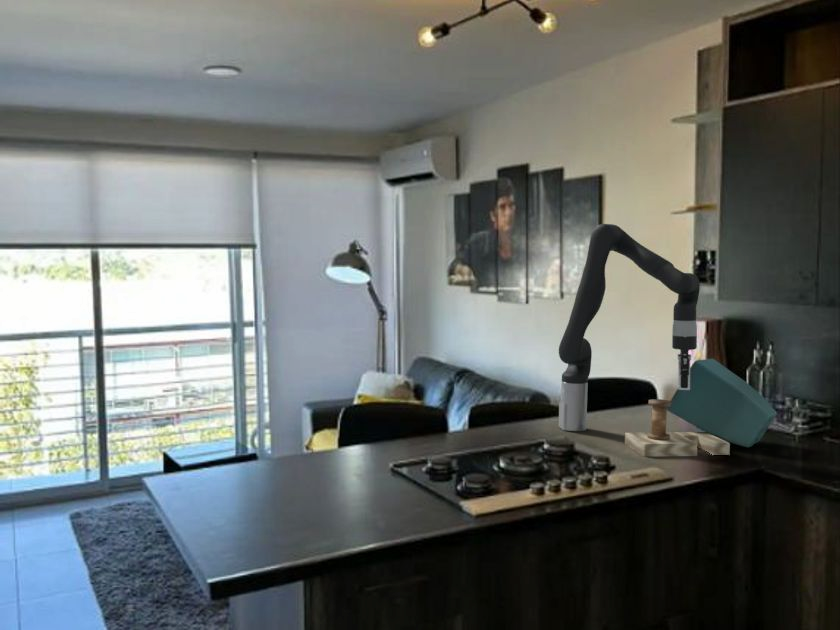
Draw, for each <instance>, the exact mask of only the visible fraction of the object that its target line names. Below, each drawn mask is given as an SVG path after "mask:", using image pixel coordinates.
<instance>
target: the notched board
mask: <svg viewBox="0 0 840 630" xmlns="http://www.w3.org/2000/svg"><path fill="white" fill-rule="evenodd" d="M647 433H648V431H647V432H645V431H644V432H643V431H642V432H638V431H637V432H636V431H635V432H624V446H627V447H628V448H630V449H631V450H633V451H635V452H636V453H638V454H639V455H641V456H642V457H645V458H646V457H649V458H651V457H697V456H698V448H697V446H698V447H700V448H701V449H703V450H705V451H707V452H709V453H710V454H709V453H708V454H709V455H711V454H712V455H711V456H713V455H729V456H730V450H731V447H730V446H731V442H728V441H725V440H723V439H720V438H718V437H715V436H713V435H711V434H709V433H707V432H699V431H674V432H673V431H666V433H667V434H670V439H669V440H653V439H649V438H647ZM701 449H700V450H701ZM703 450H702V451H703ZM705 451H704V452H705ZM707 452H706V453H707Z"/></svg>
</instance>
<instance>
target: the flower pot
mask: <svg viewBox="0 0 840 630" xmlns="http://www.w3.org/2000/svg"><path fill="white" fill-rule="evenodd" d="M670 401H671V406H669V407H667V411H668V412H669V413H671V414H673V415H675V416H677V417H678V418H680V419H682V420H683V421H685V422H687V423H688V424H690V425H692V426H694V427H695V428H696V427H697V428H699V429H701V430H703V431H705V432H707V433H709V434H711V435H713V436H715V437H717V438H720V439H722V440H724V441H726V442H728V443H730V444H734V445H738V446H741V447H745V448H750V447H753V446H754V445H753V444H755V443H756V442H758V441H759V442H760V440H761V439H762V437H763V436H764V434H765V433H766V432H767V430H768V428H769V427H770V426H771V424H772V422H773V421H774V420H775V418H776V416H777V415H778V412H777V411H776V410H775V408H774V407H773V406H772V405H771V404H770V403H769V402H768V400H766V398H765V397H764V396H762V395H761V394H760V393H759V392H758V391H757V390H756V388H753V387H752V386H751V385H750V384H749V383H748V382H746V381H745V380H744V379H742V378H741V377H740V376H738V375H737V374H736V373H734V372H732V371H731V370H729V368H727V367H726V366H724V365H722V364H721V363H720V362H718V361H717V360H715V359H714V358H707V359H698V360H695V361H694V362H693V363H692V365H690V390H678V388H677V390H676V391H675V392H674V395H673V396H672V397H671V399H670ZM759 442H758V443H759ZM756 444H757V443H756ZM756 444H755V445H756Z"/></svg>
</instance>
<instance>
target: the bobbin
mask: <svg viewBox="0 0 840 630" xmlns="http://www.w3.org/2000/svg"><path fill="white" fill-rule="evenodd" d="M648 405H649V406H652V407H651V408H652V409H651V410H652V412H651V413H652V414H651V431H649V432H648V431H647V432H648V433H647V438H649V439H653V440H669V439H670V434H667V433H666V432H667V413H668V412H667V411H668V410H667V407H669V406H671V400H668V399H660V398H659V399H657V398H655V399H654V398H652V399H648Z"/></svg>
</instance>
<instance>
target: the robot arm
mask: <svg viewBox="0 0 840 630" xmlns="http://www.w3.org/2000/svg"><path fill="white" fill-rule="evenodd" d="M589 239H590V240H589V245H588V248H587V249H588V250H587V256H586V261H585V264H584V266H583V267H584V268H583V270H582V274H581V278H580V282H579V285H578V288H577V292H576V295H575V300H574V303H573V306H572V309H571V313H570V315H569V320H568V323H567V324H566V328H565V331H564V333H563V335H562V338H561V341H560V342H559V343H560V344H559V347H558V356H559V358H560V360H561V362H563V363H565V364H567V368H566V369H565V371H564V372H563V373H562V374H561V390H560V392H561V393H560V397H561V398H560V401H559V402H558V405H559V406H558V428H560V429H561V430H563V431H569V432H584V431H587V414H588V413H587V411H588V410H587V409H588V384H589V383H588V380H589V377H590V374H591V367H592V352H593V351H592V347H591V344H590V342H589V340H588V339H586V338H584V337H585V334H586V331H587V329H588V327H589V325H590V324H591V322H592V321H593V319H594V318H595V317H596V315H597V314H598V312H599V311H600V308H601V307H602V306H601V305H602V303H603V301H604V297H605V293H606V292H605V291H606V264H607V261H608V258H609V256H610V252H612V251H613V252H615V253H617V254H620V255H623V256H624V257H626V258H627V259H629V260H630V261H632V262H633V263H634V264H635V265H637V267H638V268H640V269H641V270H642V271H643V272H645V273H646V274H648V275H649V276H651V277H652V278H654V279H655V280H658V281H659V282H661V283H662V285H664V287H666V288H668V290H670V291H672V292H673V293H675V294H677V301H676V303H675V304H673V317H672V318H673V320H672V329H671V330H672V331H671V332H672V334H671V335H672V339H671V340H672V343H671V345H672V346H671V347H672V349H674V350H679V351H680V352H679V354H677V360H678V361H677V362H678V364H679V369H680V376H681V388H688V375H689V369H690V368H691V360H692V355H691V354H689V351H690V350H691V351H692V350H697V348H698V347H697V346H698V345H697V344H698V341H697V339H698V325H697V324H698V323H697V304H698V302H699V295H700V290H701V287H700V286H701V285H700V280H699V278H698V276H697V275H696V274H694V273H691V272H683V271H681V270H680V269H678V268H676V267H675V266H674V264H673V263H672V262H670V261H669V260H668V259H666V258H665V257H662V256H660V255H659V254H658V253H655V252H654V251H652V250H651V249H648V248H647V247H646V246H644V245H642V244H640V243H639V242H638V241H636V240H635V239H634V238H633V237H631V236H630V235H629V234H628V233H627V232H626V231H624V229H622V227H620V226H618V225H617V224H613V223H611V224H610V223H601V224H598V225H596V226H595V227H594V229H593V230H592V232H591V234H590V238H589ZM682 369H687V371H682Z"/></svg>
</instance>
